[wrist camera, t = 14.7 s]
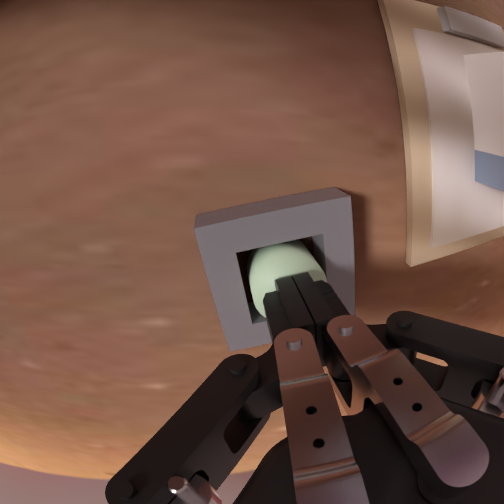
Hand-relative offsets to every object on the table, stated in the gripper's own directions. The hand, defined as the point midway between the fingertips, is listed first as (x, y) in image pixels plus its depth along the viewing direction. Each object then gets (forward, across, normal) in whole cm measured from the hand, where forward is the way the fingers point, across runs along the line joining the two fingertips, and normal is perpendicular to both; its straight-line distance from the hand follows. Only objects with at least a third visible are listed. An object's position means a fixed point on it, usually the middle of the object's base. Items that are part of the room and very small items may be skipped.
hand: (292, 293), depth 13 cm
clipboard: (+3, -15, -6) cm, 16 cm away
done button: (+3, 0, 0) cm, 3 cm away
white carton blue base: (+2, -15, -7) cm, 17 cm away
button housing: (+3, 0, 0) cm, 3 cm away
